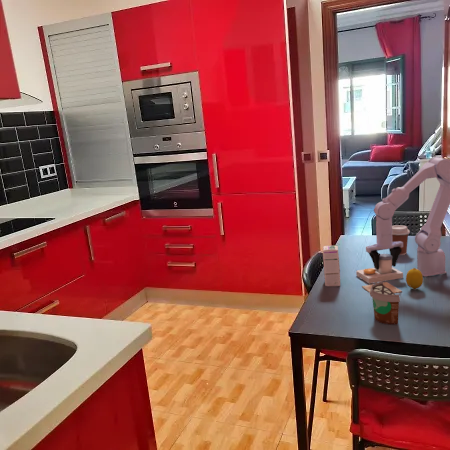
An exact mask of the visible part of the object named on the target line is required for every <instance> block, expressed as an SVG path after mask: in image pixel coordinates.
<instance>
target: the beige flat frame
mask: <svg viewBox="0 0 450 450" xmlns="http://www.w3.org/2000/svg"><path fill="white" fill-rule="evenodd" d="M364 269H365V268H364ZM364 269H359V270H356V272H355V273H356V277H358V278H360V279H361V280H363V281H364V282H366V283H367V284H368V285H371V284H375V283H378V282H388V281H393V280H397V279H404V272H402V271H401V270H399V269H397V268H395V267H394V266H392V273H388V274H383V275H382V274H380V273H378V270H377V269H375V268H374V267H370V268H368V269H375V270H376V272H375V273H374V275H366V273H364Z"/></svg>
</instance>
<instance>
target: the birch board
mask: <svg viewBox="0 0 450 450" xmlns="http://www.w3.org/2000/svg"><path fill="white" fill-rule="evenodd" d="M382 282H383V285H384V286H385V287H387V288H389V289H390V290H391V291H392V292H393V293H394V294H395V295H396V294H401V293H402V292H403V291H402V289H399V288H397V287H396V286H394V285H393V284H391V283H389V282H388V281H382ZM373 284H374V283H371V284H367V285H362V286H361V288H362V289H364V290H365V291H367V292H368V293H369V294H370V290H371V287H372V285H373Z"/></svg>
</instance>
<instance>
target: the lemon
mask: <svg viewBox="0 0 450 450" xmlns="http://www.w3.org/2000/svg"><path fill="white" fill-rule="evenodd" d="M423 277H424V276H422V273H421V272H420V271H419V270H418V269H417V267H413V268H411V269H409V270H408V271H407V273H406V276H405V282H406V284H407V286H408V287H409V288H412V289H413V290H414V291H415V290H417V289H419V288H420V287H422V285H423V283H424V278H423Z"/></svg>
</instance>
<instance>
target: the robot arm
mask: <svg viewBox="0 0 450 450" xmlns="http://www.w3.org/2000/svg"><path fill="white" fill-rule="evenodd" d="M432 178H436V180H437V181H438V183H439V187H438V191H437V193H436V195H435V198H434V201H433V203H432V206H431V209H430V211H429V214H428V217H427V220H426V223H425V224H423V225H422V226H421V228H420V230H419V231H418V232H417V233H416V234H415V237H414V241H415V243H416V244H417V245H418V246H417V249H416V251H417V253H416V254H417V255H416V258H417V261H416V263H417V267H416V269H418V270H419V271H420V272H421V273H422V276H423V277H424V278H425V277H431V276H436V275H443V274H446V273H447V271H446V254H445V252H444V250H443V249H442V248H441V243H442V242H441V238H442V231H441V230H442V229H441V227H442V225H443V223H444V220H445V218H446V215H447V212H448V210H449V207H450V158H444V157H440V156H433V157H432V158H430V159H429V160H428V161H426V162H425V163H423V164H422V166H421V168H419V170H418V171H416V173H415V174H414V175H413V176H411V178H410V179H409V180H408V181H407V182H405V184H404V185H403V186H401V187H399V186H398V187H396V188H393V189H391V193H389V194H388V195H387V196H386V197H384V198H382V201H379V202H378V203H376V204H375V207H374V208H373V213H374V214H375V217H376V218H375V220H376V222H375V230H376V243H375V244H372V245H368V246H367V245H366V246H365V252H367V253H368V255H369V257H370V258H371V261H372V265H373V266H374V267H373V268H375V269H377V270H378V269H379V257H380V254H381V253H379V252H378V251H384V250H389V254H390V255H392V267H393V268H395V267H396V266H397V261H398V260H399V259H398V258H399V257H400V256H401V255H400V253H401V252H402V249H401V248H400V247H403V242H401V241H398V242H392V226H393V217H394V214H395V211H396V210H397V209H398V208H399V207H401V206H402V205H403V204H404V203H405V202H406V201H407V200H408V199H409V198H410V193H411V192H412V191H414V190H415V189H416V188H417V187H419V186H420V185H421V184H422V183H423V182H424V181H426V180H427V179H428V180H429V179H432Z"/></svg>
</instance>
